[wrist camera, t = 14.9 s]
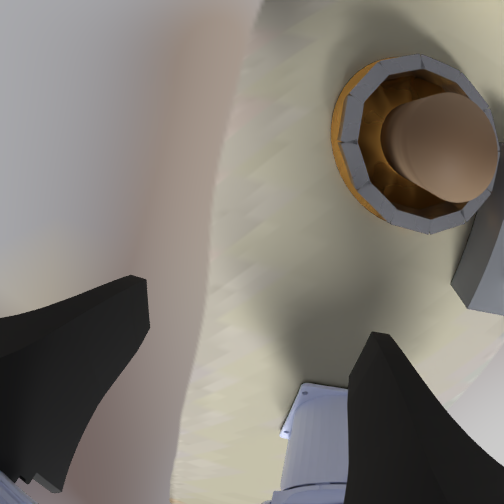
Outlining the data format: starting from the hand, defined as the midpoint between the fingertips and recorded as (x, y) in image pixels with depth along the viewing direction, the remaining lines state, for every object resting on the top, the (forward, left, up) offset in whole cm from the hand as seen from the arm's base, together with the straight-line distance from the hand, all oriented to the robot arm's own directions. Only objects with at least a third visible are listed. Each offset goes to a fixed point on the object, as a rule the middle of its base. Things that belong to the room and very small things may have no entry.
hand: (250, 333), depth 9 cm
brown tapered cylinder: (+7, -7, -9) cm, 13 cm away
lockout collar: (+7, -7, -9) cm, 13 cm away
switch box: (+4, -15, -9) cm, 18 cm away
